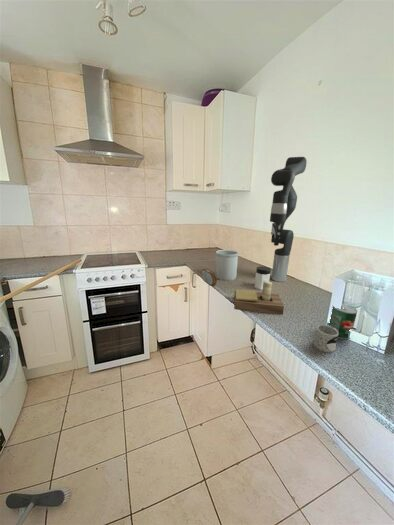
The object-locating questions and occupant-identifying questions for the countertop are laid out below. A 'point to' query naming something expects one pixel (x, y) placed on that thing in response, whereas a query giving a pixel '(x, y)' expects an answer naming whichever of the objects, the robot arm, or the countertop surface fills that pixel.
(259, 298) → the block
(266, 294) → the peg
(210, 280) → the brown oval frame
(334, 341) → the mug
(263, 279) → the jar
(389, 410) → the countertop surface
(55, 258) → the countertop surface
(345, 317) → the canned tomato
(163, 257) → the countertop surface
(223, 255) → the utensil holder
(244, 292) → the latch flap
